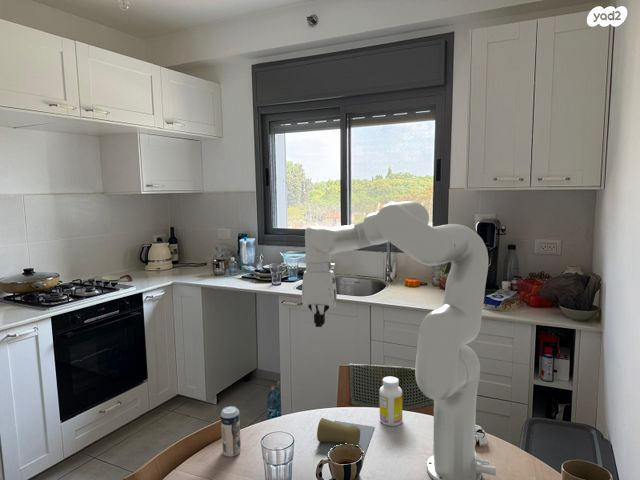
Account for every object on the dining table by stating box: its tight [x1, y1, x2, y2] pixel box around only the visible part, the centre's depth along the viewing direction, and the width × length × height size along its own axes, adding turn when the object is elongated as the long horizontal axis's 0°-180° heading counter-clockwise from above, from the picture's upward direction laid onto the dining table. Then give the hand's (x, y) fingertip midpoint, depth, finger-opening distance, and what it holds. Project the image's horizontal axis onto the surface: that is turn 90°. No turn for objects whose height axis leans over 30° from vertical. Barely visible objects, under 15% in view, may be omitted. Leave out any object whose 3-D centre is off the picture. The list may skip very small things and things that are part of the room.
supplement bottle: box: [378, 375, 403, 427], centre depth 127 cm, size 7×7×13 cm
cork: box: [316, 417, 360, 445], centre depth 116 cm, size 6×6×11 cm
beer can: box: [220, 405, 242, 458], centre depth 113 cm, size 5×5×12 cm
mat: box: [317, 420, 376, 457], centre depth 118 cm, size 12×16×1 cm
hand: (319, 325), depth 132 cm, fingers closed
